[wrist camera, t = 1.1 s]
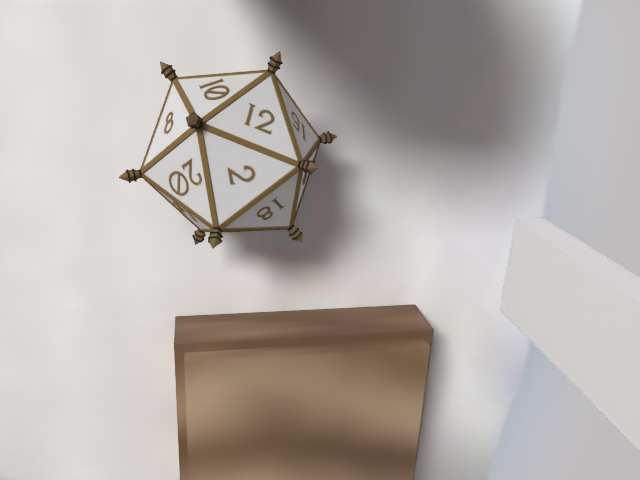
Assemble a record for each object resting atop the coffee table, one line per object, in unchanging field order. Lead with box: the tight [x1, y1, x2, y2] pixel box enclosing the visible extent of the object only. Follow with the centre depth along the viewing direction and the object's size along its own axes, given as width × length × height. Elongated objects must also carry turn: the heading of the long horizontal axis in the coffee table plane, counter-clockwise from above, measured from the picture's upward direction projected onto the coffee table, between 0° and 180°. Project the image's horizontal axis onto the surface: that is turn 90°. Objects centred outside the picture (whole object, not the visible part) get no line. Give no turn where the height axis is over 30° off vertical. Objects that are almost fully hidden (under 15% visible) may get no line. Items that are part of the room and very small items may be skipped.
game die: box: [119, 51, 337, 248], centre depth 26 cm, size 9×8×10 cm
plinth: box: [174, 305, 433, 480], centre depth 35 cm, size 14×14×4 cm
